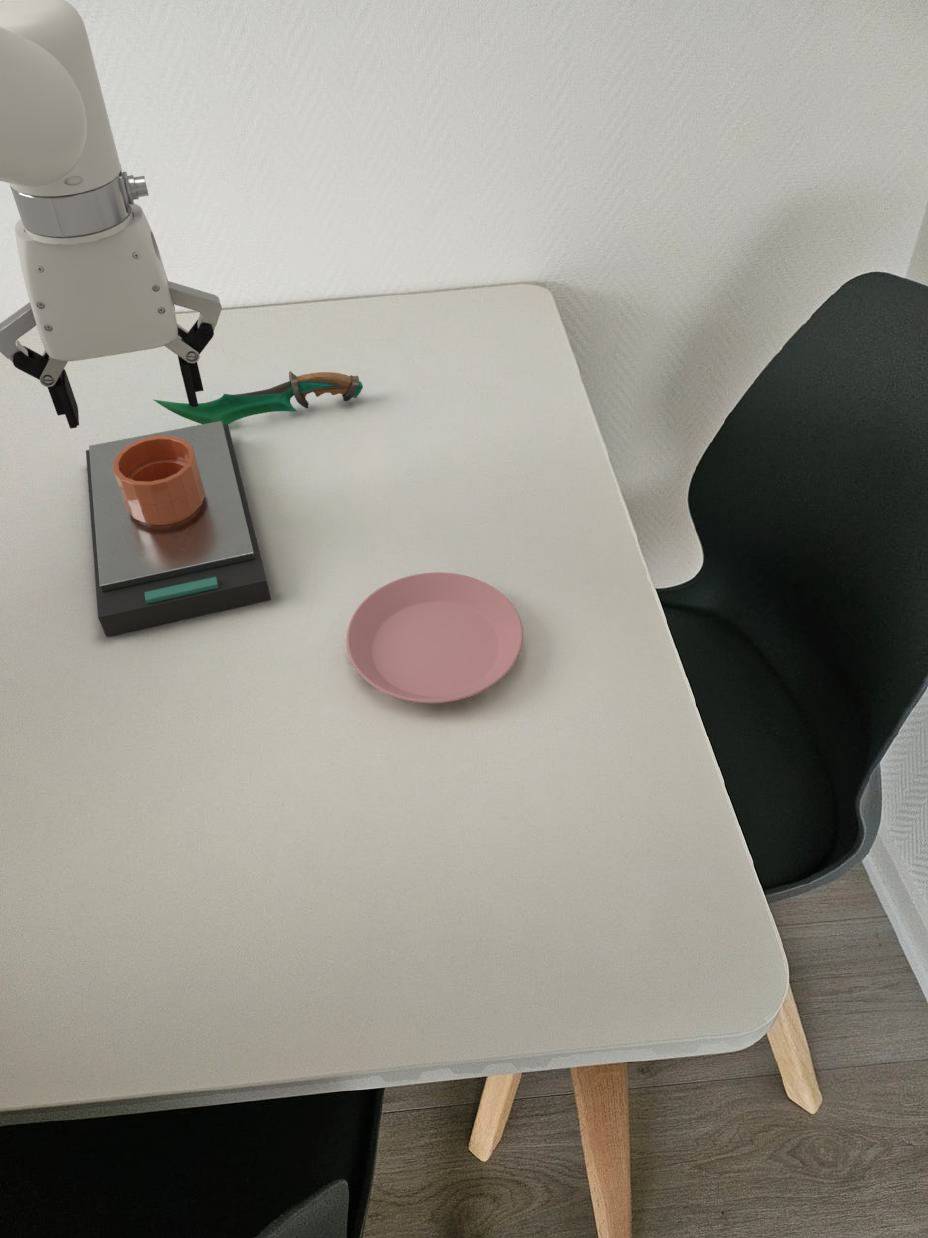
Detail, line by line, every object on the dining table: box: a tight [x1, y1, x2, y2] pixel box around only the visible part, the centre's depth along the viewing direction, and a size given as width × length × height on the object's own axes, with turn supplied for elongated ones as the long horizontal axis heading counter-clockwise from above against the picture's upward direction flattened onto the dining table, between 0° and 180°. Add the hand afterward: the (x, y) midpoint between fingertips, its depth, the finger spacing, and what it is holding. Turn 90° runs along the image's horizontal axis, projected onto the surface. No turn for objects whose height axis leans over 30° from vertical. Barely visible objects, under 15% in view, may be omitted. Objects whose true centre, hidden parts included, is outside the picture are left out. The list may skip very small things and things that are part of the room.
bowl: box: [113, 436, 205, 525], centre depth 88 cm, size 7×7×5 cm
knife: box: [153, 370, 364, 425], centre depth 102 cm, size 21×2×5 cm, turn 108°
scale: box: [85, 421, 272, 638], centre depth 91 cm, size 14×24×3 cm, turn 17°
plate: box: [346, 571, 524, 704], centre depth 80 cm, size 14×14×2 cm
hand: (134, 408), depth 82 cm, fingers open, 9 cm apart
